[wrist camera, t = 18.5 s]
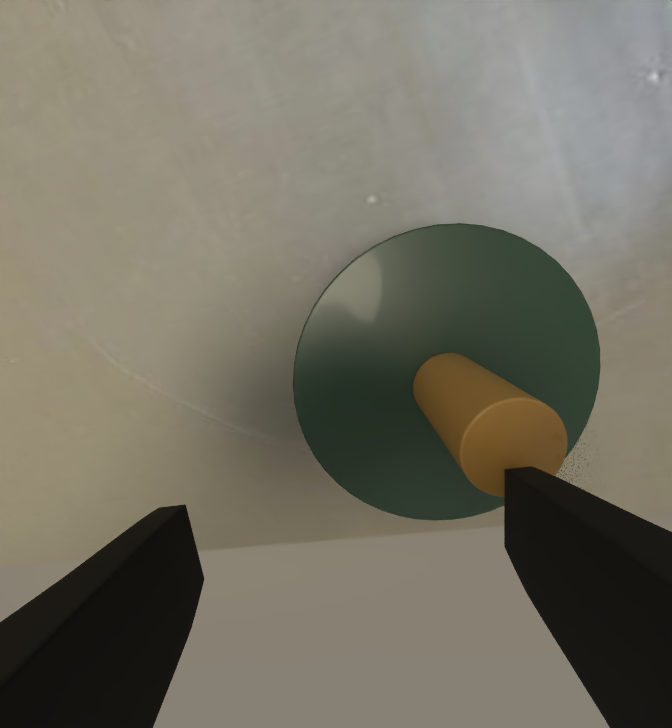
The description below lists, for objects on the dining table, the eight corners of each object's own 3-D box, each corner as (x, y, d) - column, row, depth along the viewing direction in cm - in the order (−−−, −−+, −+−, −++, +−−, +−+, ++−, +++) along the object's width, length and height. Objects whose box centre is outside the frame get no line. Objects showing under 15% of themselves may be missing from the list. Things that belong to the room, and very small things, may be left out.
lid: (576, 488, 15) (732, 622, 9) (315, 517, 15) (304, 667, 10) (585, 209, 13) (803, 150, 7) (275, 247, 13) (227, 222, 7)
